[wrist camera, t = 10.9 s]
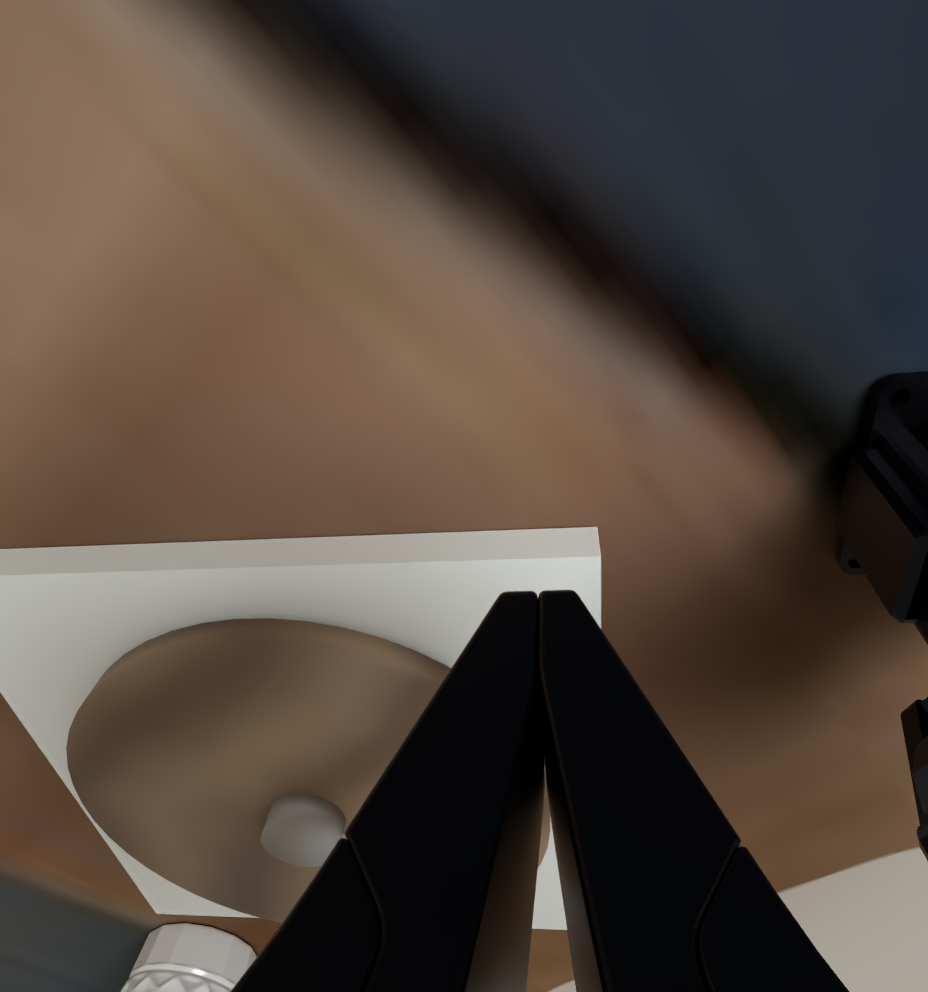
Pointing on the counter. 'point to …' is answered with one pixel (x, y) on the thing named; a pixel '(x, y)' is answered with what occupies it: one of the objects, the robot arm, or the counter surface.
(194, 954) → the white cup
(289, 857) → the dial
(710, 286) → the counter surface
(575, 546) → the base
